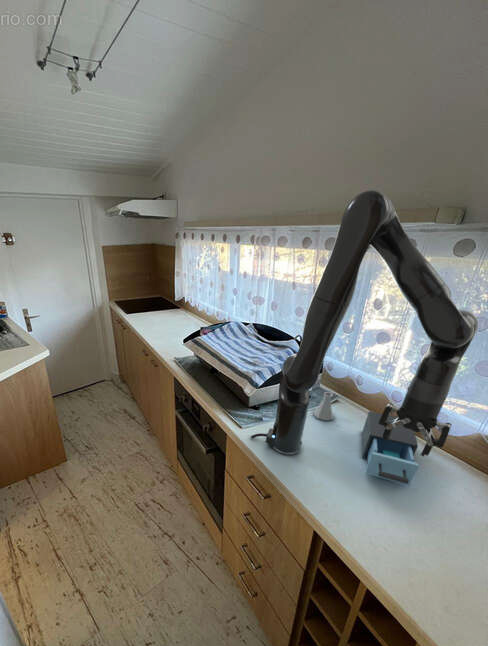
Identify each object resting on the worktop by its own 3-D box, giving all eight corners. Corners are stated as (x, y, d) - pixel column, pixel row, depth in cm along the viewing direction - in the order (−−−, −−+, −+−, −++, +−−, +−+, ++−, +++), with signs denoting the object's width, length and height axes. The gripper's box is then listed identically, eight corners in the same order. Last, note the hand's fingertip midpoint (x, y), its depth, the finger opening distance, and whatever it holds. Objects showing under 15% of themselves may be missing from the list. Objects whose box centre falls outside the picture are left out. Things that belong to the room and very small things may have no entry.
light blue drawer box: (411, 498, 84) (421, 478, 81) (365, 484, 89) (372, 464, 85) (404, 456, 99) (412, 437, 95) (364, 446, 103) (371, 428, 100)
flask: (334, 421, 117) (340, 399, 113) (315, 419, 119) (320, 398, 114) (331, 411, 124) (336, 390, 119) (312, 409, 125) (316, 388, 120)
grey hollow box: (407, 469, 95) (418, 445, 90) (362, 457, 100) (370, 434, 95) (402, 442, 106) (411, 419, 102) (361, 432, 111) (369, 410, 107)
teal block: (379, 469, 93) (383, 458, 91) (378, 460, 96) (382, 449, 94) (396, 473, 91) (400, 462, 89) (394, 464, 94) (399, 453, 92)
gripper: (466, 399, 71) (439, 452, 79) (397, 379, 80) (379, 429, 88) (460, 412, 67) (432, 467, 75) (388, 389, 76) (370, 441, 84)
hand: (403, 446), depth 81 cm, fingers open, 8 cm apart
